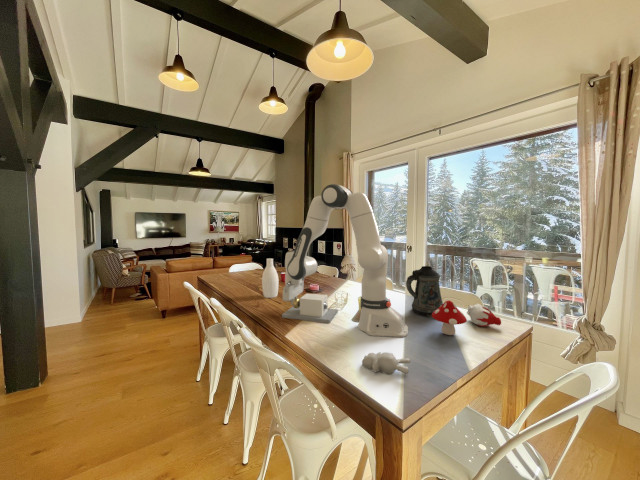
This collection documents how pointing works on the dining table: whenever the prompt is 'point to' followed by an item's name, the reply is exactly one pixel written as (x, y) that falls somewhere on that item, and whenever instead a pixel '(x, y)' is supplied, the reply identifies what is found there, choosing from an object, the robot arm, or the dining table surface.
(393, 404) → the dining table surface
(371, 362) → the bunny figurine
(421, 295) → the beer stein
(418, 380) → the dining table surface
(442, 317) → the decorative mushroom
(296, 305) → the shaft
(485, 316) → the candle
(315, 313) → the bearing block
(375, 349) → the dining table surface
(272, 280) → the bottle
